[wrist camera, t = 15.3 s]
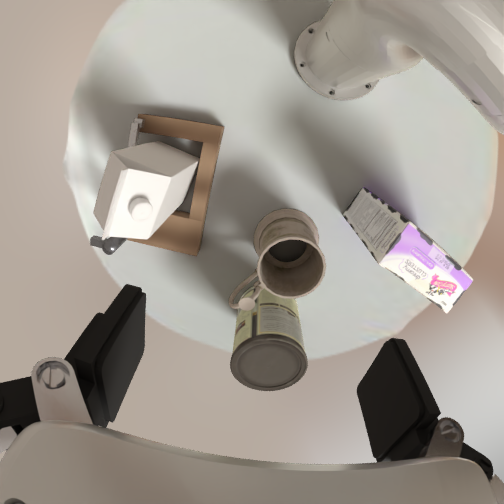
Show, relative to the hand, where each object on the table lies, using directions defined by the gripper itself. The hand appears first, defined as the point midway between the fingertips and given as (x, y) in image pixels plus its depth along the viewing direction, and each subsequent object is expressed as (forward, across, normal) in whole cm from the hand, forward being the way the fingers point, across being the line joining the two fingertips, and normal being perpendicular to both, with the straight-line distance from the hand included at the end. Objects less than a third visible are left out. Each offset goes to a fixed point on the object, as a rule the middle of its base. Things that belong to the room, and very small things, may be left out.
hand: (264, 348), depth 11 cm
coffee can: (+34, -6, +21) cm, 41 cm away
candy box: (+35, -20, +2) cm, 40 cm away
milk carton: (+34, +13, +2) cm, 37 cm away
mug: (+34, -4, +10) cm, 36 cm away
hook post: (+32, +19, +11) cm, 38 cm away
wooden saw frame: (+34, +13, +4) cm, 37 cm away
